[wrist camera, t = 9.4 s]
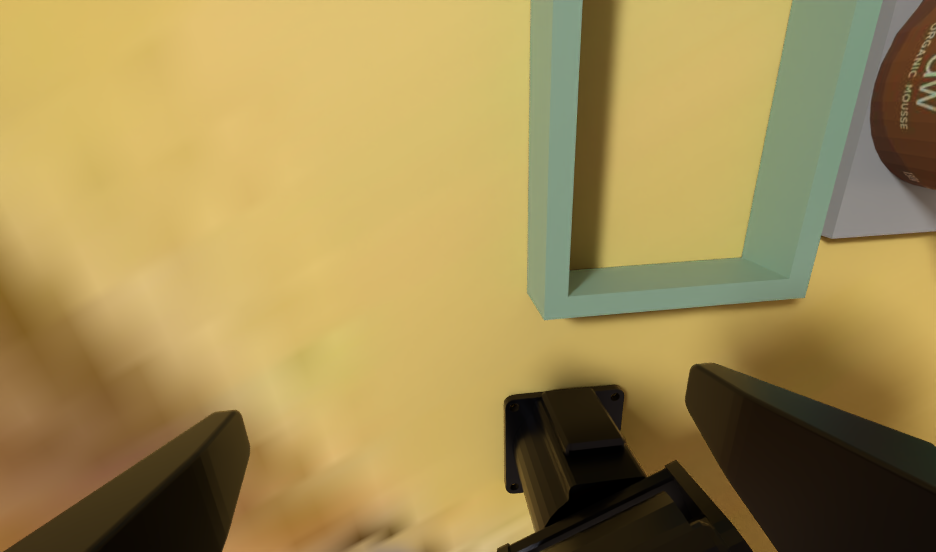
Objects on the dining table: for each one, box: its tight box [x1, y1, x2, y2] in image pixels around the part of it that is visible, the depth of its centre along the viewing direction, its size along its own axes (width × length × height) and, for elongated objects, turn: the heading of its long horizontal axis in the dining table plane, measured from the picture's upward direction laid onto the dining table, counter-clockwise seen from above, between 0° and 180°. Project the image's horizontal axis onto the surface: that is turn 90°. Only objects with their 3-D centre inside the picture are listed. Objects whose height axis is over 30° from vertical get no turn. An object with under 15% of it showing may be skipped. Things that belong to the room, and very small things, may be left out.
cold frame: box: [527, 0, 883, 320], centre depth 17 cm, size 18×12×3 cm, turn 2°
